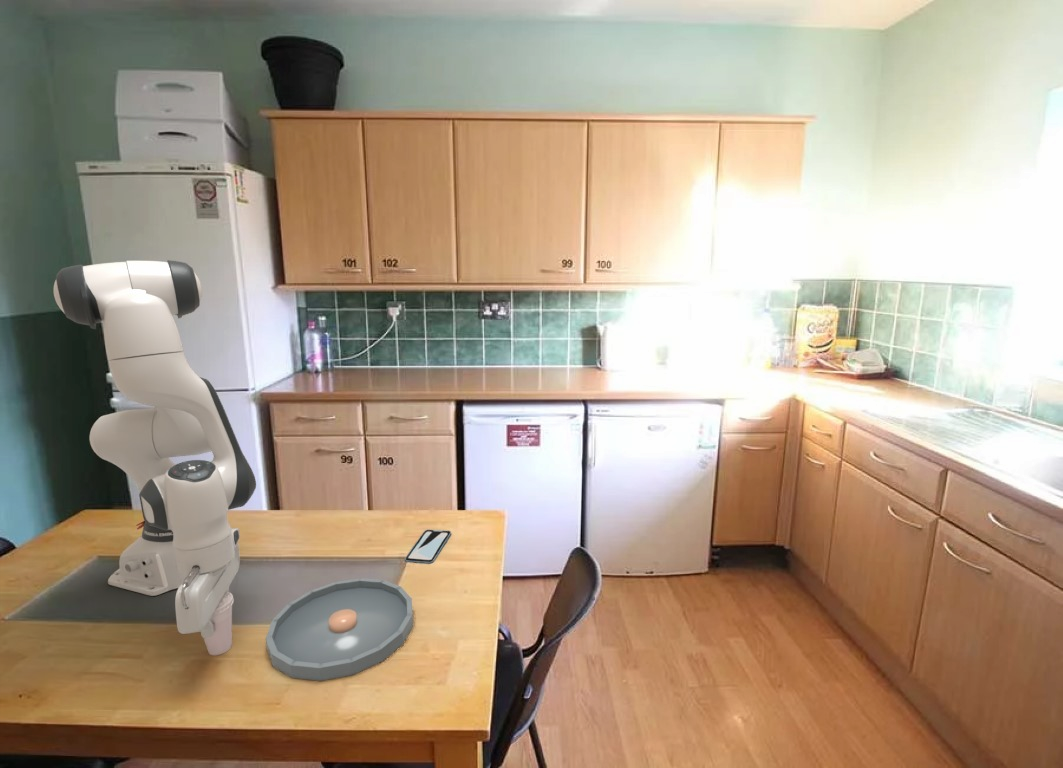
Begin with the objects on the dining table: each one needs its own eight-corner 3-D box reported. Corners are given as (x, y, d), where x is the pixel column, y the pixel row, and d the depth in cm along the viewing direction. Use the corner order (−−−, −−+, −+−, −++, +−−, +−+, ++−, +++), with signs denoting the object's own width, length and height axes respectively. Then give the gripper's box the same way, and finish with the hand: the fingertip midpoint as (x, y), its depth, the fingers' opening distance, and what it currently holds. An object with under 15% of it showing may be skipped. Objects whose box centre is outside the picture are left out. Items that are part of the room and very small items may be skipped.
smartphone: (402, 560, 125) (425, 529, 140) (403, 564, 126) (425, 532, 140) (432, 562, 124) (452, 530, 139) (432, 566, 124) (452, 534, 139)
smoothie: (222, 663, 94) (210, 592, 91) (191, 658, 95) (179, 588, 92) (247, 638, 100) (238, 571, 97) (218, 634, 101) (208, 568, 98)
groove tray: (236, 671, 91) (234, 659, 91) (317, 585, 117) (315, 574, 116) (379, 687, 88) (378, 674, 87) (430, 593, 113) (430, 583, 112)
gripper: (202, 583, 84) (215, 659, 87) (242, 524, 103) (250, 588, 106) (158, 588, 83) (171, 665, 85) (206, 528, 102) (216, 592, 105)
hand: (216, 622), depth 96 cm, fingers open, 6 cm apart
